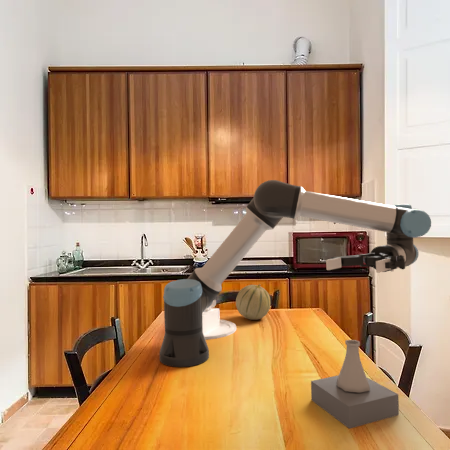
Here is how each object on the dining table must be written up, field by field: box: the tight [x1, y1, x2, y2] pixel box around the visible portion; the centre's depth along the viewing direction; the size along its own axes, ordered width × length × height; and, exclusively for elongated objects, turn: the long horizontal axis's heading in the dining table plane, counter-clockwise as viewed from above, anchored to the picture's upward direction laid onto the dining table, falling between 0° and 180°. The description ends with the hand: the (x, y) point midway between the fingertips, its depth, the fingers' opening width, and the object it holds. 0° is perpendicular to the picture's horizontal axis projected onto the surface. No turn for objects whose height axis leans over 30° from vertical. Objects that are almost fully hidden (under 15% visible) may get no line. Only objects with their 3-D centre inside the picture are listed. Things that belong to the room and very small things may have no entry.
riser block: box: [310, 374, 400, 429], centre depth 83 cm, size 13×13×5 cm
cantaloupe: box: [235, 283, 271, 321], centre depth 159 cm, size 15×15×15 cm
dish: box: [202, 299, 237, 341], centre depth 145 cm, size 25×25×11 cm
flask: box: [337, 339, 370, 393], centre depth 83 cm, size 7×7×10 cm
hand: (351, 265), depth 94 cm, fingers open, 13 cm apart
